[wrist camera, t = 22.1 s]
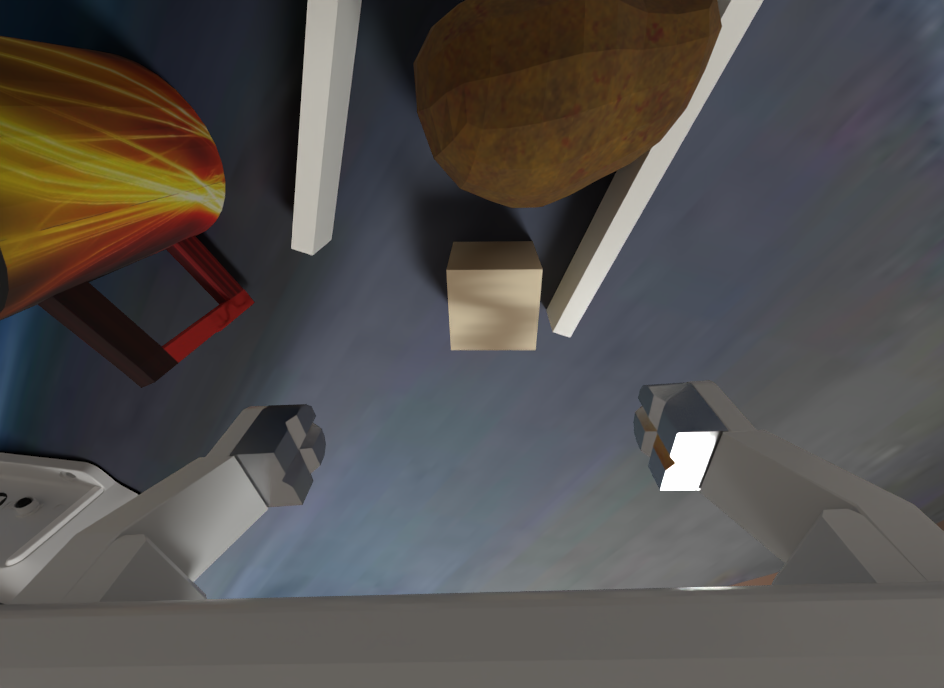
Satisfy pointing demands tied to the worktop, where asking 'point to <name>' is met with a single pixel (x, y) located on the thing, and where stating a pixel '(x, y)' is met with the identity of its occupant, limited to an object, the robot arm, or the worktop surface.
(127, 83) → the mug
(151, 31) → the worktop surface
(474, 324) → the beech block
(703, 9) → the potato
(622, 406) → the worktop surface
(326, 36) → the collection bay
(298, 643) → the robot arm
